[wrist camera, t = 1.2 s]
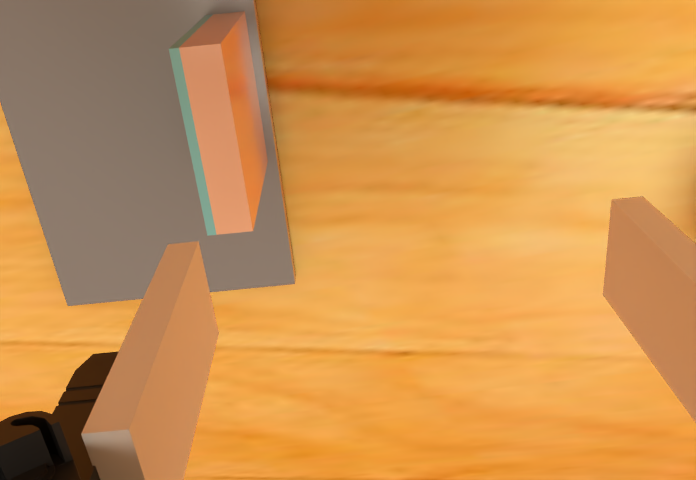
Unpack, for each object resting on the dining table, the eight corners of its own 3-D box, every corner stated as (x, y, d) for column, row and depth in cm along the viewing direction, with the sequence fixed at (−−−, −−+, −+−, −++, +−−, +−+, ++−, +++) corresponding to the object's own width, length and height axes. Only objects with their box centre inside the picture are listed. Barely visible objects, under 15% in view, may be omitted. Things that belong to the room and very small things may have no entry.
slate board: (-70, -143, 31) (-81, -144, 30) (230, -174, 31) (227, -176, 30) (73, 297, 42) (67, 305, 41) (295, 275, 41) (294, 283, 41)
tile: (205, 15, 33) (168, 48, 25) (244, 11, 33) (220, 43, 25) (232, 164, 37) (207, 235, 29) (267, 161, 37) (253, 231, 29)
